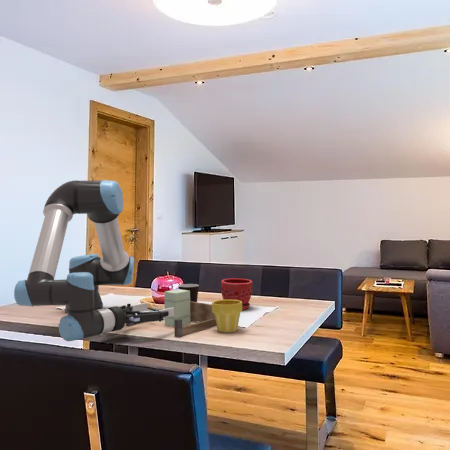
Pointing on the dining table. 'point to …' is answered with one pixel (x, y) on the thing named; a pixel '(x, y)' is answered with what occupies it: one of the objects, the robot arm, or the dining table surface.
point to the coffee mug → (191, 290)
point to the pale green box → (178, 306)
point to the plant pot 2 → (227, 314)
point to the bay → (194, 319)
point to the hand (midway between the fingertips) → (159, 308)
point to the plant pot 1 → (237, 290)
